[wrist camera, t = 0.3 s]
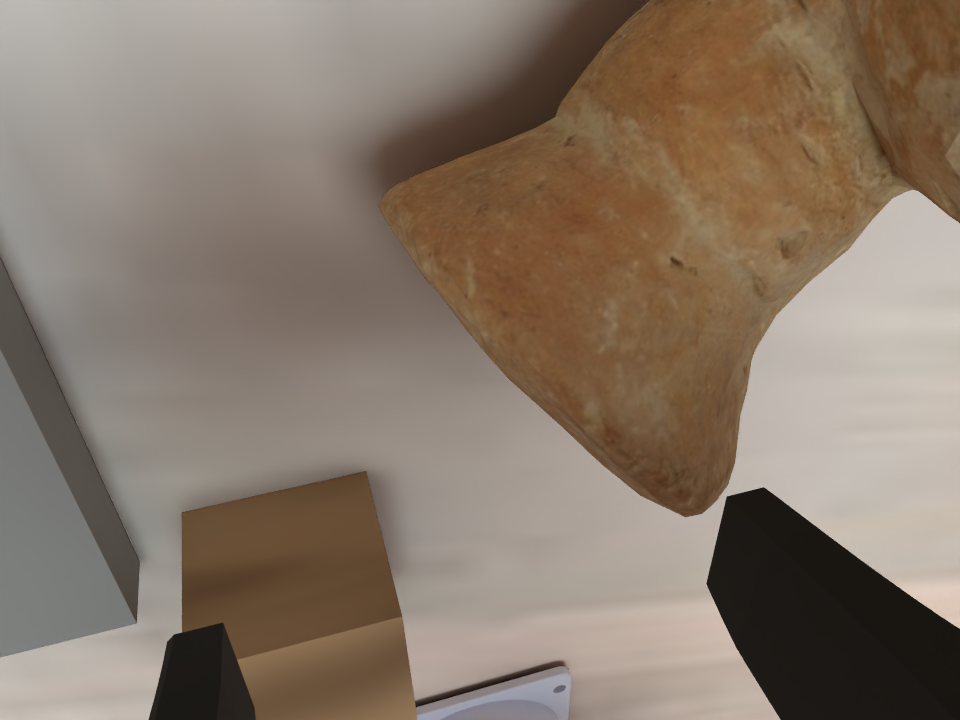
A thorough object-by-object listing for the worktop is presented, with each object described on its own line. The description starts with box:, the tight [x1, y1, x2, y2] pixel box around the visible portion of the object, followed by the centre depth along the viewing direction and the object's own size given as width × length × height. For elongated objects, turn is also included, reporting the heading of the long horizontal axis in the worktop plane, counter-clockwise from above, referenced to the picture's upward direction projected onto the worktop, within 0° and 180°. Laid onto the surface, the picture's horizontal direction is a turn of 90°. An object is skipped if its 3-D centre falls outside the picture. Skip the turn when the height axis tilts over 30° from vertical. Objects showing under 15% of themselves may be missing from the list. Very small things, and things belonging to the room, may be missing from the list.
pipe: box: [379, 0, 960, 517], centre depth 14 cm, size 9×16×10 cm, turn 138°
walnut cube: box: [182, 471, 417, 720], centre depth 22 cm, size 5×5×5 cm
